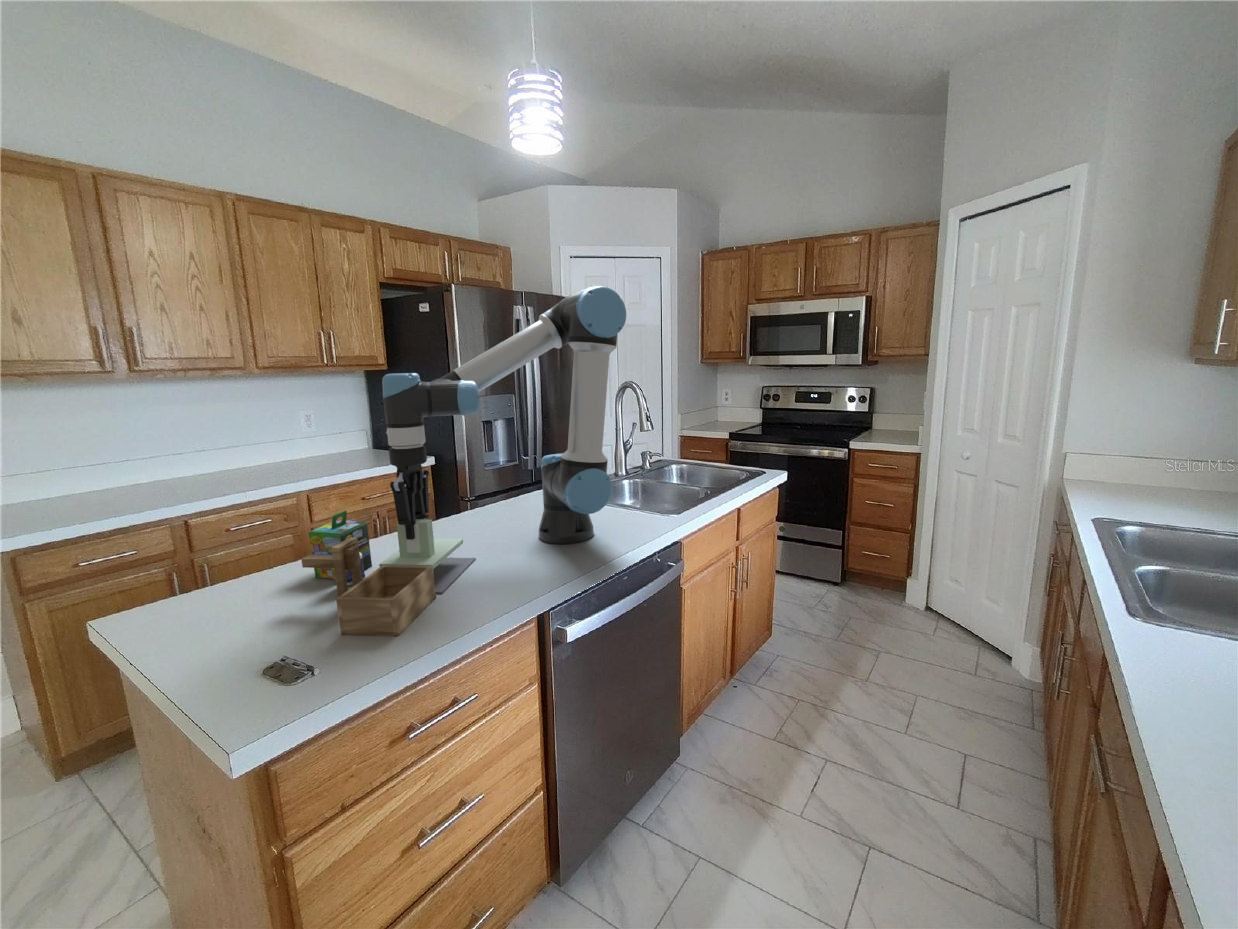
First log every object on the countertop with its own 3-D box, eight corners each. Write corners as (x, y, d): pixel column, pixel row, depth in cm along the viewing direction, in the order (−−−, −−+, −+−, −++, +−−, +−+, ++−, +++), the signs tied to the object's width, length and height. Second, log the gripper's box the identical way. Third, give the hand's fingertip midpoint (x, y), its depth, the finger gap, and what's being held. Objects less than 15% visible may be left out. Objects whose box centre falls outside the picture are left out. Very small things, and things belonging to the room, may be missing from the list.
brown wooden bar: (354, 568, 110) (351, 550, 109) (302, 567, 111) (299, 549, 110) (360, 563, 112) (358, 545, 111) (310, 563, 113) (307, 545, 113)
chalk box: (341, 564, 136) (333, 506, 133) (373, 566, 134) (366, 507, 131) (313, 578, 127) (304, 517, 125) (347, 581, 125) (339, 518, 122)
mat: (475, 559, 136) (475, 558, 136) (442, 593, 117) (442, 592, 117) (414, 558, 138) (414, 557, 138) (371, 592, 119) (370, 590, 119)
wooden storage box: (398, 636, 99) (390, 566, 97) (311, 634, 101) (300, 565, 99) (436, 597, 115) (429, 536, 112) (360, 596, 117) (352, 536, 114)
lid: (432, 569, 118) (429, 529, 116) (379, 568, 119) (375, 528, 117) (463, 543, 134) (460, 507, 132) (416, 542, 135) (412, 506, 134)
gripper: (407, 440, 127) (417, 538, 131) (371, 452, 111) (383, 562, 116) (439, 440, 126) (447, 538, 130) (406, 451, 111) (417, 562, 115)
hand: (417, 549), depth 123 cm, fingers closed on lid, 2 cm apart
